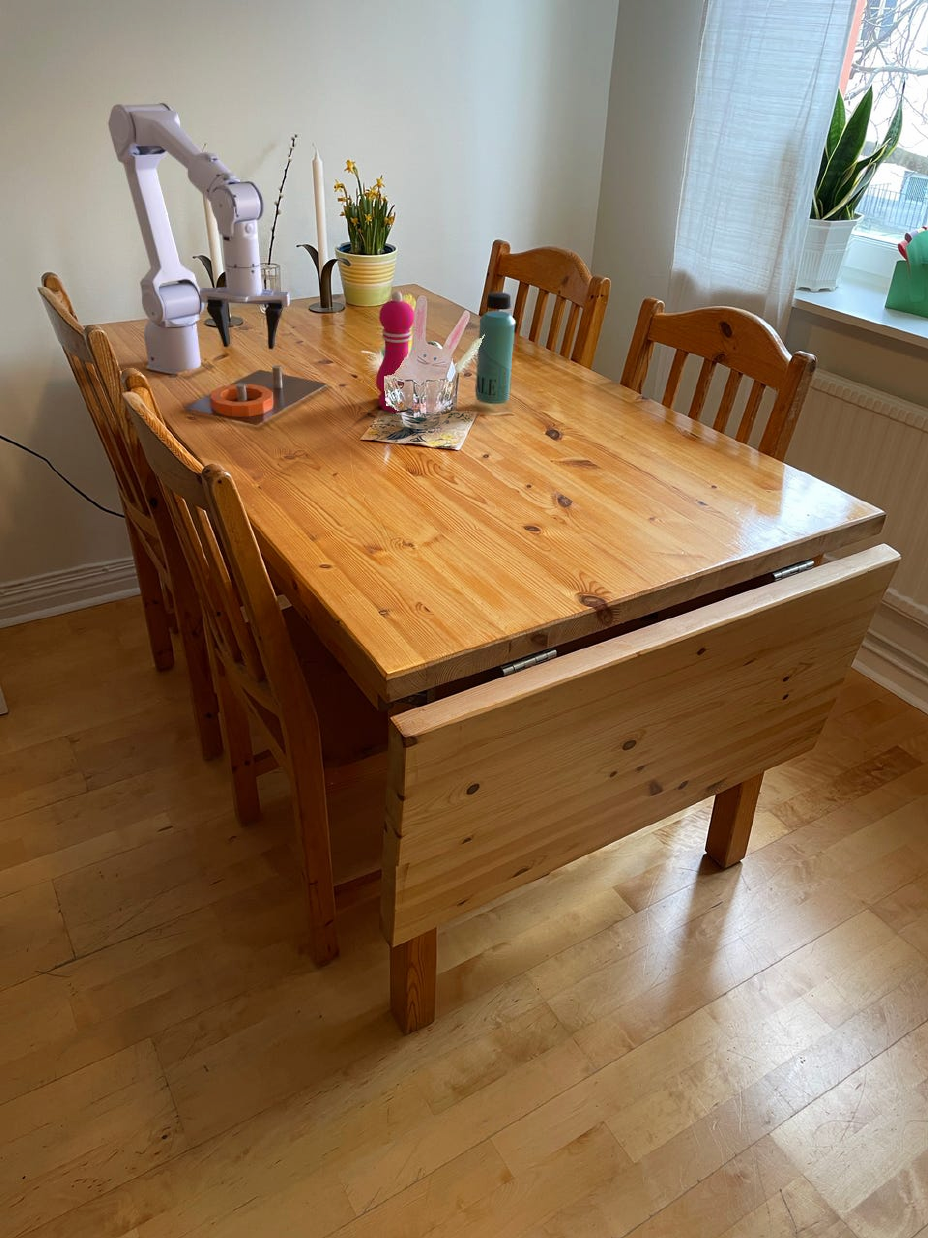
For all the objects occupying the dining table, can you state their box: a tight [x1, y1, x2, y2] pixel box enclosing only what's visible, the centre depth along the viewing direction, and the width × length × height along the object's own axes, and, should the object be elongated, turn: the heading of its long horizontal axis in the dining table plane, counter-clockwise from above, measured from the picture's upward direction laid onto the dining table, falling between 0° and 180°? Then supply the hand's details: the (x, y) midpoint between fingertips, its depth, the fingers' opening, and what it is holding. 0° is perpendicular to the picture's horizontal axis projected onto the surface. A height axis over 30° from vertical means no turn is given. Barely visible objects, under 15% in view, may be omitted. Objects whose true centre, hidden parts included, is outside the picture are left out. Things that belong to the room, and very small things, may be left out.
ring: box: [210, 384, 274, 417], centre depth 154 cm, size 10×10×2 cm
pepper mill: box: [375, 290, 415, 413], centre depth 155 cm, size 7×7×20 cm
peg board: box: [183, 364, 328, 426], centre depth 158 cm, size 15×23×4 cm, turn 157°
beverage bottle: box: [474, 291, 516, 405], centre depth 157 cm, size 6×7×20 cm
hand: (249, 346), depth 154 cm, fingers open, 7 cm apart
